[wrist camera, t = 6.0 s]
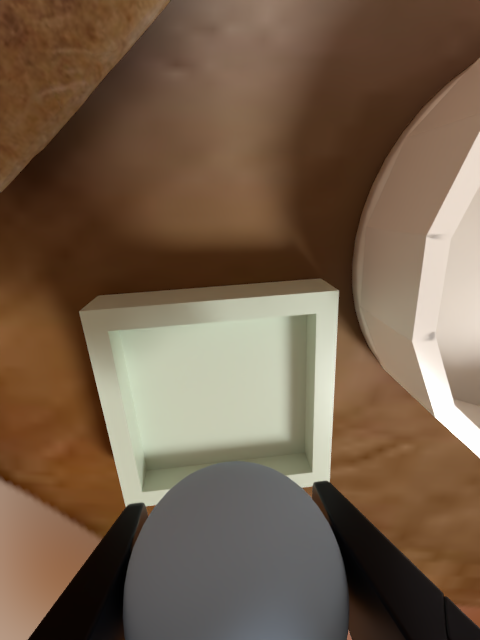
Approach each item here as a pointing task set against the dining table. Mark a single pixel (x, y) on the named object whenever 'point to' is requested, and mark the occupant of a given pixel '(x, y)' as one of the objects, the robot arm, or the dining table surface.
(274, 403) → the tray
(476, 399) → the bowl
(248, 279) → the dining table surface
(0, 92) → the tan boot vase
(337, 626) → the ball
